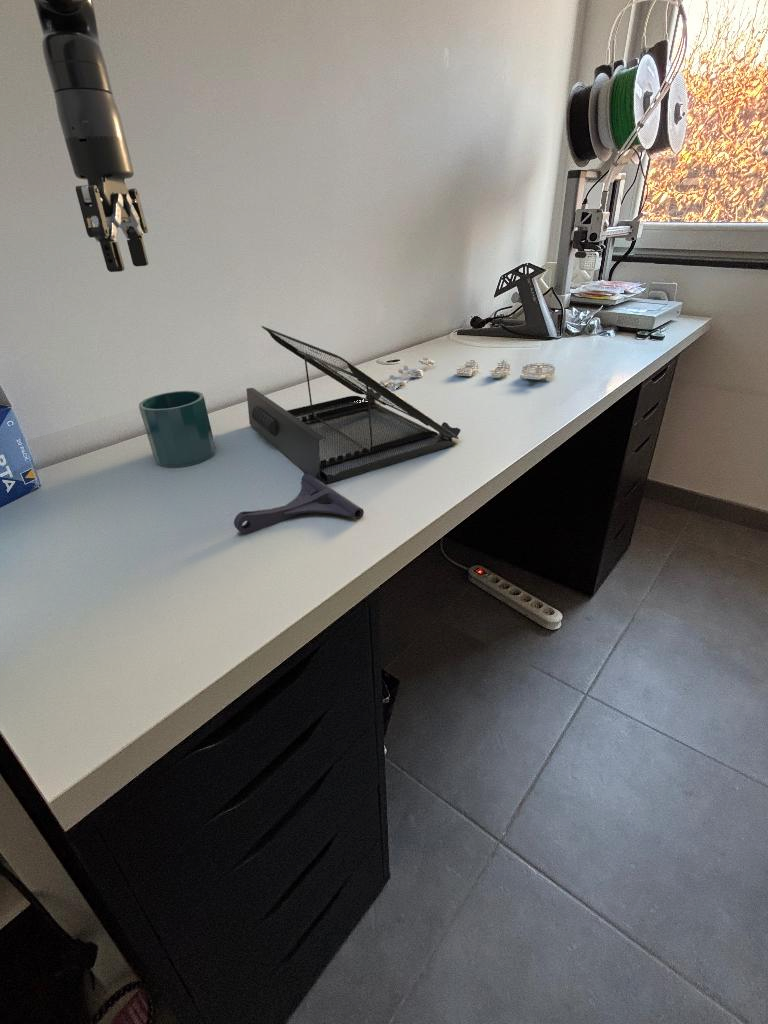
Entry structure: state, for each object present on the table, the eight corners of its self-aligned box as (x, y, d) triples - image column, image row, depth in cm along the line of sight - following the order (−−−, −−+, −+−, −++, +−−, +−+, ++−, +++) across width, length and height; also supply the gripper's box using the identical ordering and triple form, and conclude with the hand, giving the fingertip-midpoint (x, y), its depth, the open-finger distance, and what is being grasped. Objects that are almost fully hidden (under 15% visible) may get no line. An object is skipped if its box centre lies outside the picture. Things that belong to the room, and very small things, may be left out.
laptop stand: (463, 442, 90) (465, 332, 81) (315, 487, 79) (298, 364, 70) (369, 397, 116) (362, 309, 107) (246, 426, 104) (227, 330, 95)
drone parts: (528, 408, 105) (529, 393, 104) (377, 393, 121) (375, 379, 120) (558, 373, 122) (559, 359, 120) (421, 364, 138) (421, 351, 136)
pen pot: (146, 469, 88) (128, 411, 84) (167, 445, 97) (153, 392, 92) (206, 466, 88) (192, 408, 83) (222, 442, 97) (210, 389, 92)
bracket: (218, 514, 74) (213, 496, 72) (311, 481, 81) (309, 465, 79) (261, 560, 63) (257, 540, 62) (364, 518, 70) (362, 499, 69)
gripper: (93, 144, 77) (125, 265, 85) (37, 131, 65) (80, 275, 73) (144, 141, 77) (171, 263, 85) (96, 127, 65) (134, 272, 73)
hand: (129, 268), depth 79 cm, fingers open, 8 cm apart
